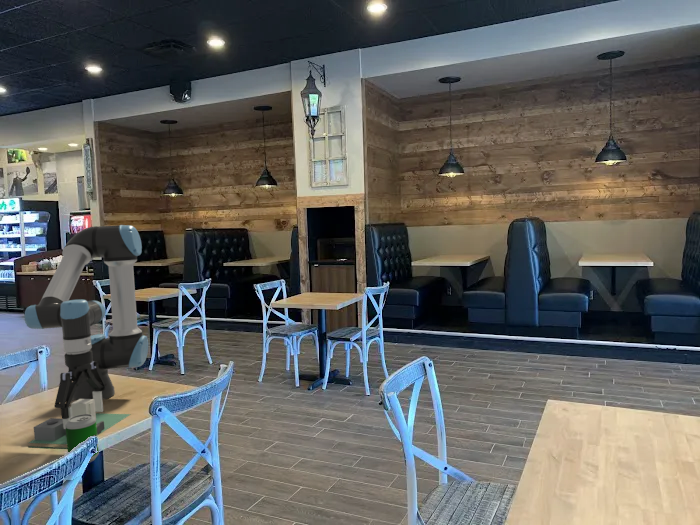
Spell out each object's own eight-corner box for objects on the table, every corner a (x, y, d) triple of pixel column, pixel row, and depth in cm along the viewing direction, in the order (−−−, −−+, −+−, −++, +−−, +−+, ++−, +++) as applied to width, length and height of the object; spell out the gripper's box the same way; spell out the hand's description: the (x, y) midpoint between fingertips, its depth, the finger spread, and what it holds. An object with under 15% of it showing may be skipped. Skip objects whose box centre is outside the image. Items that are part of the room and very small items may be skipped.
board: (83, 417, 179) (81, 399, 178) (131, 418, 175) (129, 400, 175) (28, 447, 155) (26, 427, 155) (82, 449, 152) (80, 429, 151)
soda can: (86, 467, 141) (82, 423, 140) (62, 465, 142) (58, 422, 141) (105, 454, 148) (101, 413, 147) (81, 453, 149) (78, 412, 149)
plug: (82, 430, 163) (79, 398, 162) (98, 430, 162) (95, 399, 161) (73, 435, 159) (70, 403, 158) (89, 436, 158) (87, 403, 157)
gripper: (59, 362, 146) (66, 436, 147) (115, 341, 170) (120, 405, 172) (35, 362, 147) (42, 436, 149) (94, 341, 171) (99, 405, 173)
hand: (84, 419), depth 160 cm, fingers open, 13 cm apart
